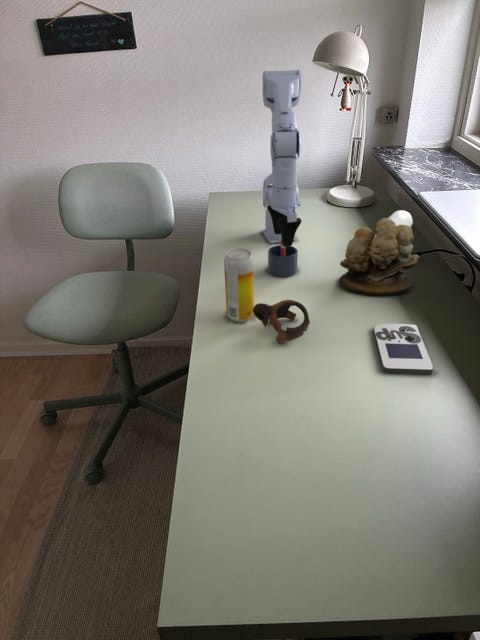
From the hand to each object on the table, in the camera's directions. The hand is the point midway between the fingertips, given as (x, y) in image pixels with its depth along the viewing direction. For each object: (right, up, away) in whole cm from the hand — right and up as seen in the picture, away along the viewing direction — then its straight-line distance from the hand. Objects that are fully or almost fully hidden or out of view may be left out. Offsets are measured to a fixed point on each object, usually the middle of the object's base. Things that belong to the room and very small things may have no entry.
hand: (283, 239), depth 121 cm
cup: (0, -7, +5) cm, 9 cm away
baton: (0, -7, +4) cm, 8 cm away
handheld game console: (+21, -26, -26) cm, 42 cm away
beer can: (-11, -19, -13) cm, 26 cm away
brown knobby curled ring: (-2, -23, -19) cm, 29 cm away
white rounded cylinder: (+28, +1, +11) cm, 30 cm away
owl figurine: (+22, -12, -3) cm, 25 cm away
